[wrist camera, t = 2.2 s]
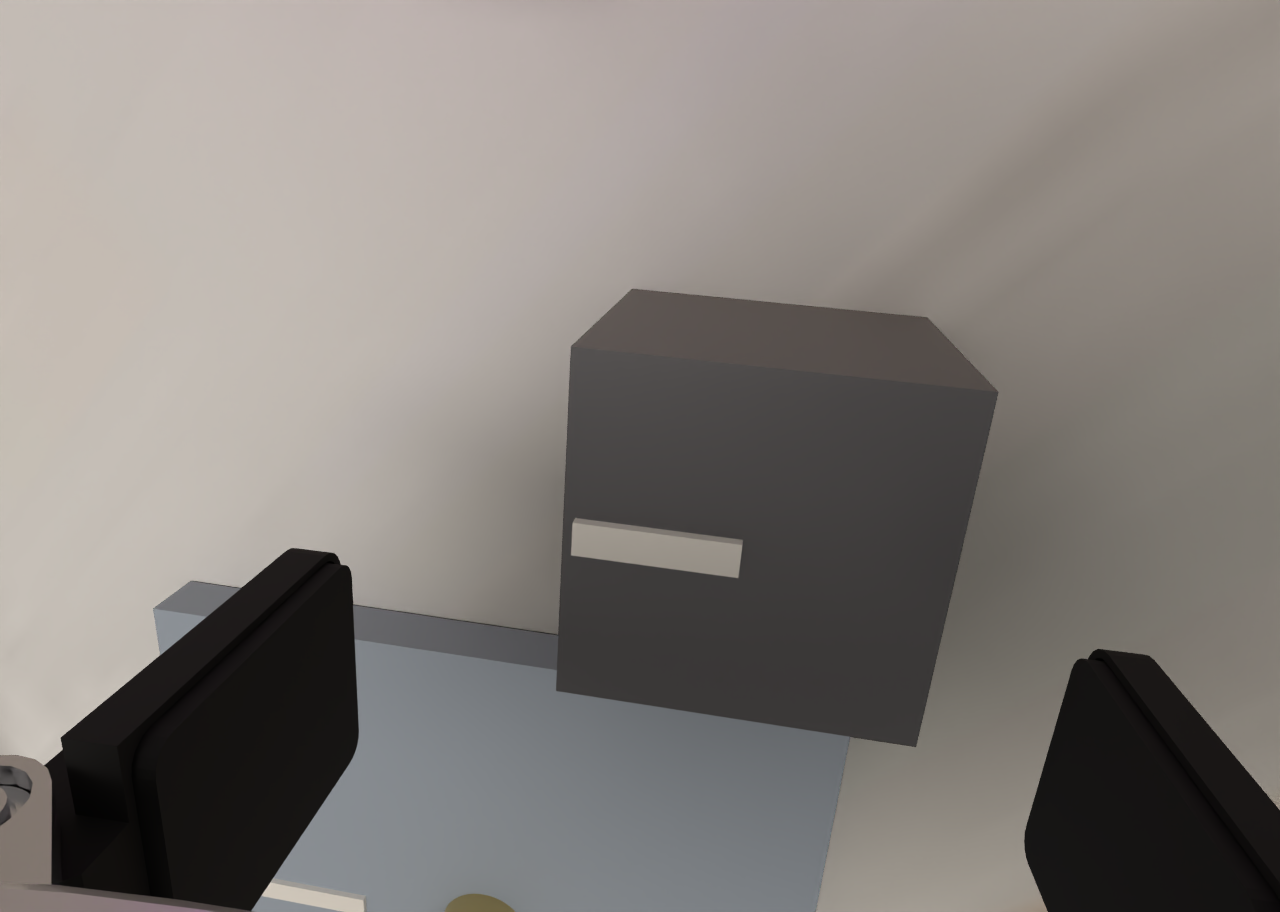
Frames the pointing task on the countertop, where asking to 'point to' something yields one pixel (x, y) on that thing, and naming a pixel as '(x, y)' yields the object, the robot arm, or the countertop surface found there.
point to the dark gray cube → (765, 510)
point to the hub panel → (543, 788)
